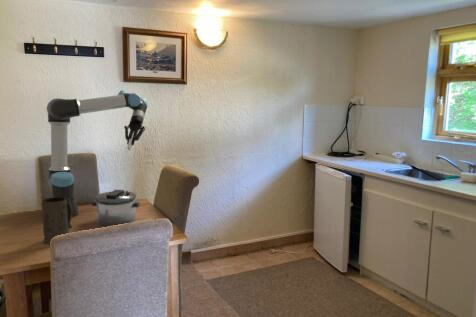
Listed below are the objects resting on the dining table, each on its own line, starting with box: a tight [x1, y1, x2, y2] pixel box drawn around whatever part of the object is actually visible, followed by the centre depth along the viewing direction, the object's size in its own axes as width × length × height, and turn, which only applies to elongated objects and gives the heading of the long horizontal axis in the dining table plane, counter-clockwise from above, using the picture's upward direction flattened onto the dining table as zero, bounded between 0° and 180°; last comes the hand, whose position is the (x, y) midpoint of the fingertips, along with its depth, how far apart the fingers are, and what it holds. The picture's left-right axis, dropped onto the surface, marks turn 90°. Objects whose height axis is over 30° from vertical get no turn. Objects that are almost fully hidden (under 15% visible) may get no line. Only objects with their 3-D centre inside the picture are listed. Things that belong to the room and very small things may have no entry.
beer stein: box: [41, 197, 73, 245], centre depth 181 cm, size 15×11×20 cm
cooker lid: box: [94, 189, 137, 204], centre depth 208 cm, size 21×21×4 cm
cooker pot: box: [91, 199, 141, 227], centre depth 210 cm, size 25×21×12 cm
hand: (128, 148), depth 227 cm, fingers closed
